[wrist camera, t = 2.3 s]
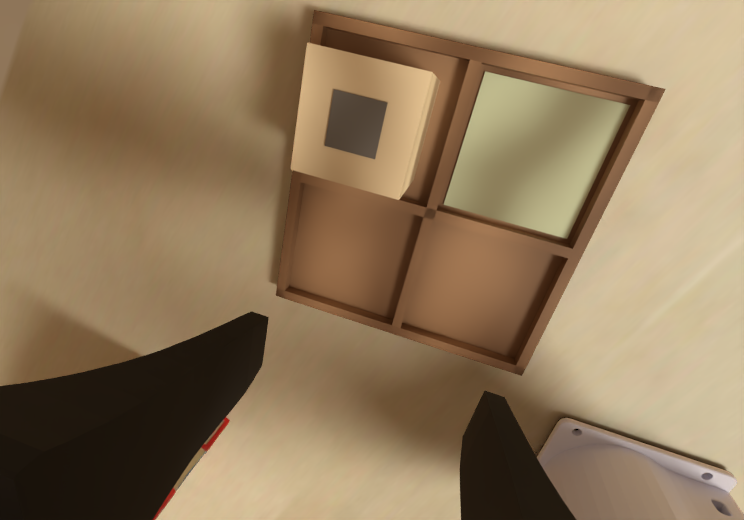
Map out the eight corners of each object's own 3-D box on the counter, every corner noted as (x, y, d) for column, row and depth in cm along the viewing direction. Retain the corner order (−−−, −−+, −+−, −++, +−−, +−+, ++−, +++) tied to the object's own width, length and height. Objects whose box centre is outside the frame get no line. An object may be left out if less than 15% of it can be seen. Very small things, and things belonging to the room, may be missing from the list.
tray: (653, 90, 15) (665, 89, 14) (519, 364, 21) (521, 375, 20) (322, 15, 17) (314, 10, 16) (283, 288, 23) (275, 295, 22)
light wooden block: (440, 81, 17) (432, 72, 13) (413, 180, 19) (398, 200, 14) (344, 58, 17) (306, 42, 13) (327, 156, 19) (289, 169, 15)
